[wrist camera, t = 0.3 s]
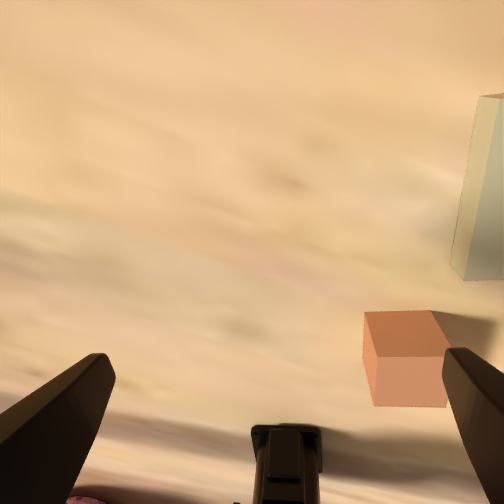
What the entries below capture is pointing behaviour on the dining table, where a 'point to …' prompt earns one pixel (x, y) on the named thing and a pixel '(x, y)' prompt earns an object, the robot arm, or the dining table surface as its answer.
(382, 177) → the dining table surface
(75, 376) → the robot arm
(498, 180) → the base plate
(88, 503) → the bowl of food
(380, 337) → the orange brown cube
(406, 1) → the dining table surface
